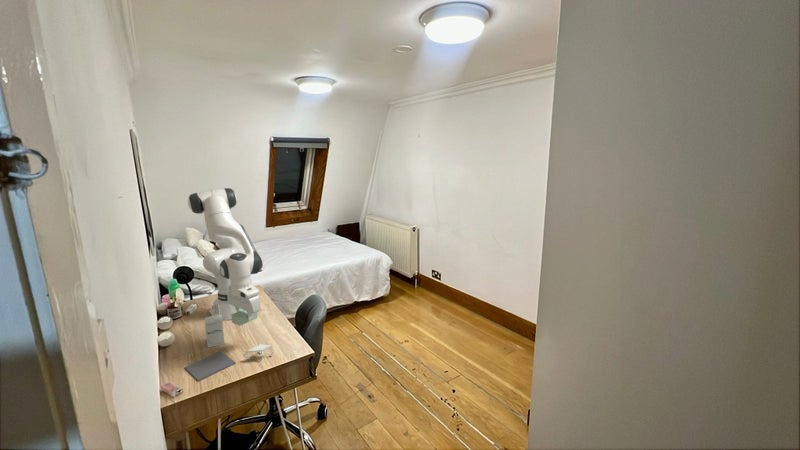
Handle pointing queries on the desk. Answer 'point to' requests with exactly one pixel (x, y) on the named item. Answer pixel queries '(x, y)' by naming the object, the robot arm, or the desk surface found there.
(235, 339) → the desk surface
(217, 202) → the robot arm
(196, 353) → the desk surface
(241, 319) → the card box
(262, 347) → the origami figure
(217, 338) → the supplement box
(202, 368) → the rubber mat
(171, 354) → the desk surface
